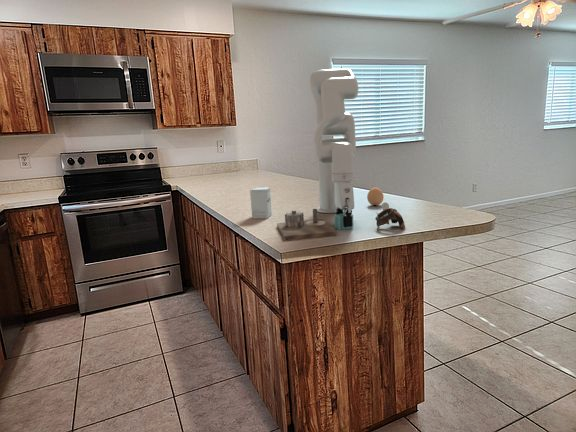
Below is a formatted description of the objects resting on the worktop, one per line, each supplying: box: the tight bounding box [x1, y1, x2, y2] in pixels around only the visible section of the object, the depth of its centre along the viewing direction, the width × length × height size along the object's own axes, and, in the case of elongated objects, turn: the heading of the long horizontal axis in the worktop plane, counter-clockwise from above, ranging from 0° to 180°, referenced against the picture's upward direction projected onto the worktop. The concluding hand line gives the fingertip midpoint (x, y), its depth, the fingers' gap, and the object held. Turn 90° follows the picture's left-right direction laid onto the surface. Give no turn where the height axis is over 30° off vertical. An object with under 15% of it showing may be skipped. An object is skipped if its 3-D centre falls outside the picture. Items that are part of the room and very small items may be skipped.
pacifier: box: [375, 201, 390, 218], centre depth 157 cm, size 7×6×6 cm
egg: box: [366, 186, 384, 206], centre depth 182 cm, size 7×7×8 cm
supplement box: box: [249, 186, 273, 219], centre depth 172 cm, size 7×7×13 cm
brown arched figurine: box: [375, 207, 406, 230], centre depth 143 cm, size 12×10×8 cm
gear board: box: [276, 208, 337, 242], centre depth 145 cm, size 18×20×7 cm
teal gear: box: [333, 213, 354, 230], centre depth 147 cm, size 7×7×4 cm
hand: (344, 223), depth 147 cm, fingers open, 8 cm apart
